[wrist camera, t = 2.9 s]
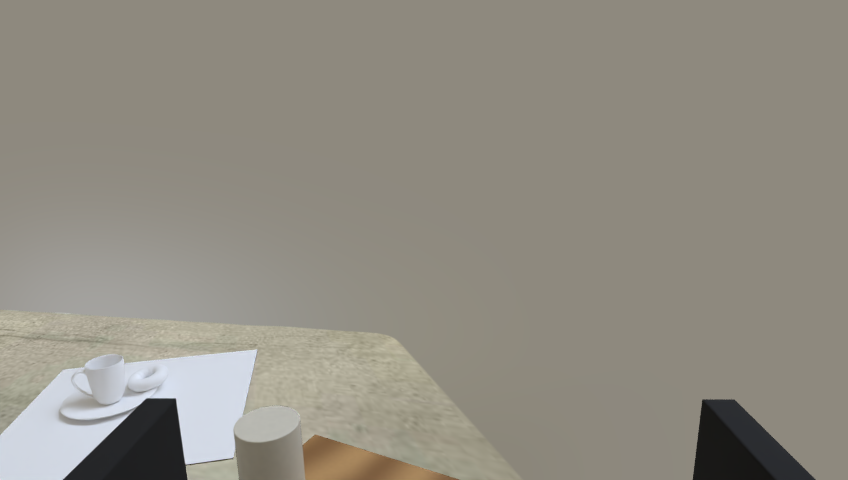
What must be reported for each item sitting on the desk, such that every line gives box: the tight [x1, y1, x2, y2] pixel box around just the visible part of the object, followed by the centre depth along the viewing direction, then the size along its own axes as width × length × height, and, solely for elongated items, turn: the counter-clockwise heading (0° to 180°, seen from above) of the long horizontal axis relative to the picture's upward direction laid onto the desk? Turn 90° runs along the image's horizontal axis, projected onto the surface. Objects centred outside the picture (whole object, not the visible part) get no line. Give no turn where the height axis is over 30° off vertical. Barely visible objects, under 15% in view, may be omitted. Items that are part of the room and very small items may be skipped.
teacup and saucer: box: [59, 354, 169, 421], centre depth 50 cm, size 9×8×4 cm
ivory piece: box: [233, 406, 305, 480], centre depth 34 cm, size 4×4×7 cm
